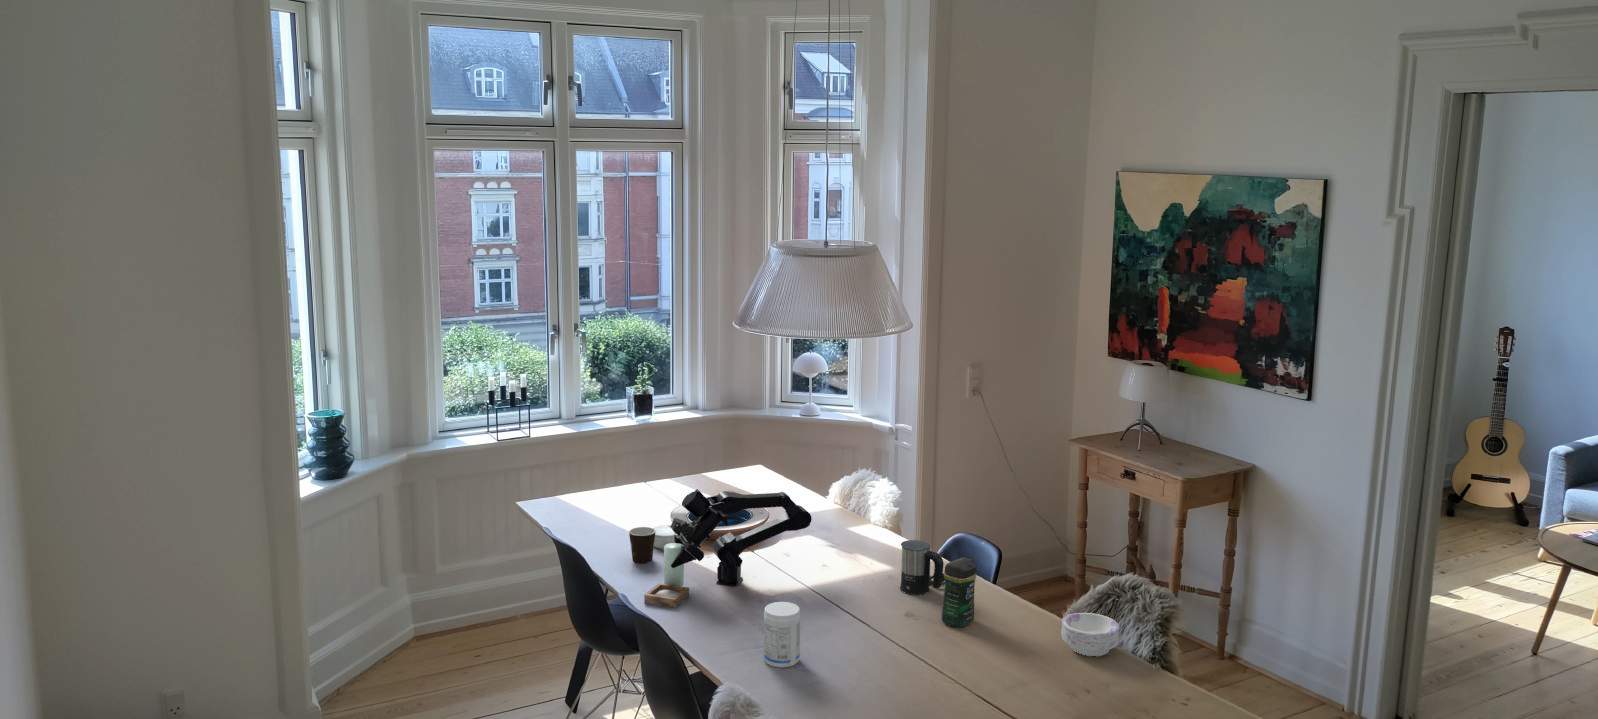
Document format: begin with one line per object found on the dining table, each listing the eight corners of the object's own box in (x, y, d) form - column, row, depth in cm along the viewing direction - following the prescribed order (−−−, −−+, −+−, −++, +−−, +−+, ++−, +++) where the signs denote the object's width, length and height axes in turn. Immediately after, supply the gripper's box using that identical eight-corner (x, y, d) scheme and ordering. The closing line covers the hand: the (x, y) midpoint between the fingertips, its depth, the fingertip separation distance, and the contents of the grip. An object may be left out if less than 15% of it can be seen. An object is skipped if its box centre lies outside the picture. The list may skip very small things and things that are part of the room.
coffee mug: (650, 566, 351) (650, 536, 350) (625, 563, 353) (625, 534, 351) (662, 553, 362) (662, 525, 361) (637, 551, 364) (637, 523, 362)
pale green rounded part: (687, 581, 335) (687, 544, 333) (678, 588, 330) (678, 550, 328) (669, 578, 337) (669, 542, 335) (660, 585, 332) (660, 548, 329)
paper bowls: (1064, 634, 306) (1066, 607, 304) (1120, 643, 300) (1122, 616, 299) (1056, 656, 292) (1058, 628, 290) (1114, 666, 286) (1116, 638, 285)
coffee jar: (960, 631, 306) (963, 568, 303) (937, 623, 311) (939, 561, 308) (978, 620, 314) (981, 559, 310) (955, 613, 319) (958, 553, 315)
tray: (689, 595, 328) (689, 587, 327) (674, 607, 318) (674, 599, 318) (659, 590, 331) (659, 582, 330) (644, 603, 322) (644, 594, 321)
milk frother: (896, 593, 333) (897, 547, 330) (907, 575, 348) (908, 531, 345) (942, 599, 329) (944, 553, 326) (951, 581, 343) (953, 536, 341)
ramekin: (689, 543, 373) (689, 528, 372) (669, 552, 364) (669, 537, 363) (664, 537, 379) (664, 522, 378) (643, 546, 370) (643, 531, 369)
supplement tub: (781, 649, 292) (782, 598, 290) (807, 660, 286) (808, 608, 284) (755, 660, 285) (756, 608, 283) (781, 672, 279) (782, 618, 277)
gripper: (679, 500, 339) (645, 537, 338) (693, 519, 322) (657, 558, 320) (704, 522, 343) (670, 559, 342) (719, 541, 326) (683, 580, 324)
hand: (669, 563), depth 332 cm, fingers closed on pale green rounded part, 6 cm apart
